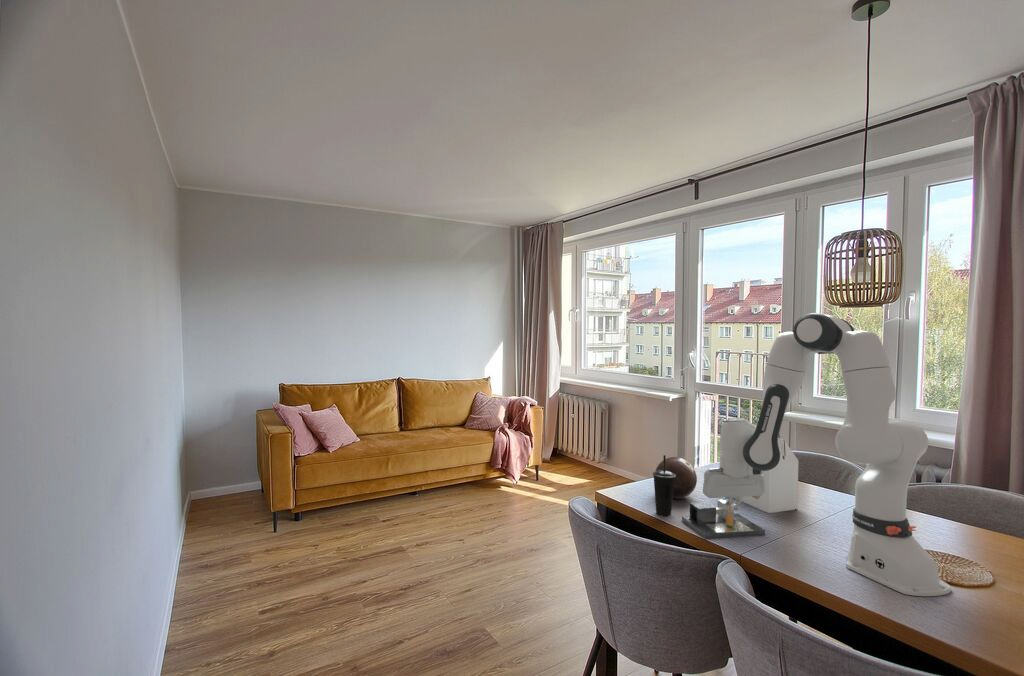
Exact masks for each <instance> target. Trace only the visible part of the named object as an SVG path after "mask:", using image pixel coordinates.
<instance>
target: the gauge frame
mask: <svg viewBox="0 0 1024 676" xmlns="http://www.w3.org/2000/svg"><path fill="white" fill-rule="evenodd" d="M716 508H717V506H714V505H713V504H711V503H709V502H707V501H702V502H701V501H699V502H689V515H684V516H683V515H682V516H681V521H682V523H684V524H686V526H688V527H689V528H690V529H692V530H693V531H694V532H695V533H697V534H698V535H699V536H701V537H702V538H703V539H705V540H706V539H721V538H736V537H748V536H749V537H750V536H751V537H753V536H766V530H765V529H764V528H762V527H761V526H759V525H758V524H756V523H755V522H753V521H751V520H749V519H747V518H746V517H744V516H742V515H741V514H739V513H736V512H734V518H735V519H736V520H738V524H734V523H733V526H729V525H728V524H726V520H725V519H723V518H722V517H720V516H719V515H717V514H716Z"/></svg>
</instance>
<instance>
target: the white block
mask: <svg viewBox="0 0 1024 676" xmlns="http://www.w3.org/2000/svg"><path fill="white" fill-rule="evenodd" d="M729 505H731V517H733V523H734V524H738V520H736V519H735V518H734V514H735V510H734V506H733V505H732V504H730V503H728V502H727V501H726V500H725V499H718V500H717V506H716V515H719V516H720V517H722V518H723V519H725V520H726V516H729Z"/></svg>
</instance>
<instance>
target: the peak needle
mask: <svg viewBox="0 0 1024 676" xmlns="http://www.w3.org/2000/svg"><path fill="white" fill-rule="evenodd" d="M726 524H728V525H729V526H733V517H731V505H729V516H726Z"/></svg>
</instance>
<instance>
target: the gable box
mask: <svg viewBox="0 0 1024 676" xmlns="http://www.w3.org/2000/svg"><path fill="white" fill-rule="evenodd" d="M753 424H754V425H755V426H757V423H756V424H755V423H753ZM778 437H779V438H780V440H781V442H782V451H781V454H780V460H779V463H778V465H777V466H776V467H775V468H773V469H771V470H768V471H764V473H763V474H762V476H763V477H764V481H765V492H764V494H763V495H762V496H746V497H742V501H741V503H745V504H747V505H749V506H751V507H753V508H755V509H758V510H760V511H762V512H765V513H767V514H773V513H780V512H781V513H782V512H787V511H795V509H796V510H798V508H799V507H798V504H799V503H798V502H799V501H798V500H799V495H798V494H799V459H798V458H797V456H796V455H795V453H794V452H793V450H792V449H791V448H790V446H789V445H788V444H787V442H786V441H785V439H783V438H781V437H780V435H779V436H778ZM732 499H734V500H735V499H736V498H735V497H732Z"/></svg>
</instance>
